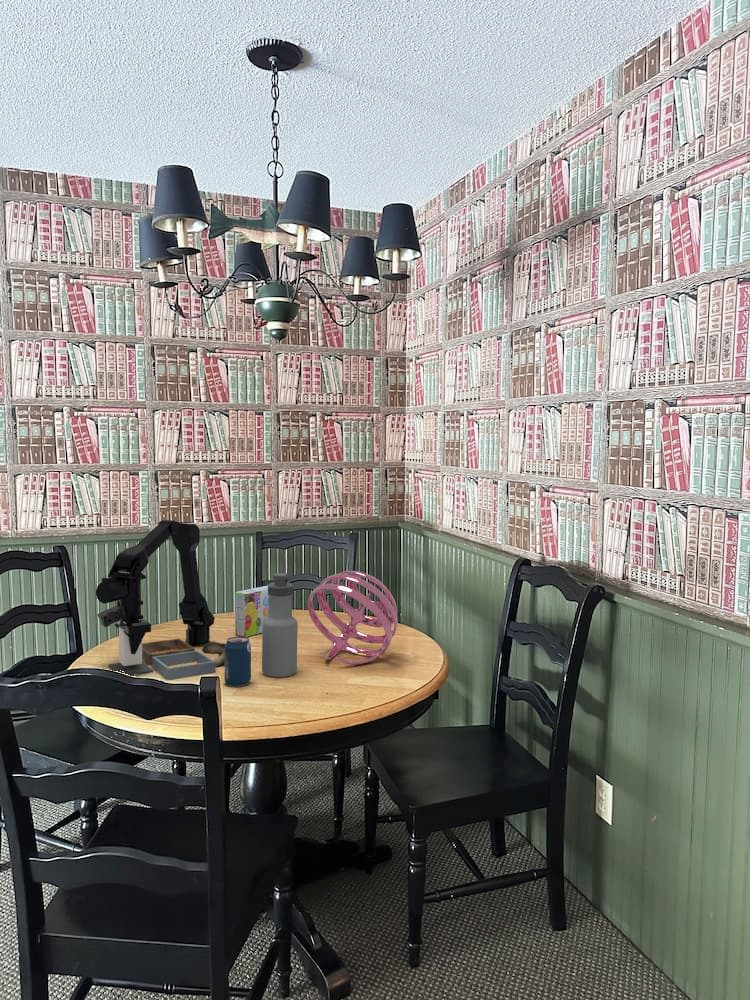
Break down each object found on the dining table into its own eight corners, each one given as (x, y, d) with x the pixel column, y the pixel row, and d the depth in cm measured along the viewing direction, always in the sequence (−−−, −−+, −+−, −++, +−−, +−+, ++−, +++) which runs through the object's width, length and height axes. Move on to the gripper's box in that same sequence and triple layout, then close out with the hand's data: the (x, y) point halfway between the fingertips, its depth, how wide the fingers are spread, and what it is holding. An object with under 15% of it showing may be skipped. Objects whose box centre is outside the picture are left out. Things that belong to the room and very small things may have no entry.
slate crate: (197, 660, 216) (197, 650, 216) (215, 672, 205) (215, 661, 204) (151, 667, 208) (151, 656, 208) (167, 680, 197) (167, 669, 197)
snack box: (277, 624, 263) (278, 582, 262) (289, 626, 260) (289, 584, 259) (234, 635, 246) (234, 591, 245) (245, 638, 243) (246, 593, 242)
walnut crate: (179, 647, 229) (179, 638, 229) (194, 658, 218) (194, 648, 218) (135, 653, 221) (135, 644, 221) (149, 665, 210) (149, 654, 210)
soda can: (255, 681, 197) (256, 637, 196) (241, 689, 191) (241, 643, 190) (234, 678, 200) (234, 634, 199) (219, 685, 193) (219, 640, 193)
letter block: (136, 659, 209) (136, 623, 208) (142, 663, 205) (142, 627, 204) (118, 661, 206) (118, 626, 206) (123, 666, 202) (123, 629, 202)
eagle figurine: (219, 653, 220) (196, 654, 213) (231, 635, 218) (208, 635, 211) (232, 671, 216) (209, 672, 208) (244, 653, 214) (221, 654, 207)
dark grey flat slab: (140, 661, 213) (140, 660, 213) (153, 672, 203) (153, 670, 203) (108, 666, 208) (108, 664, 208) (120, 677, 198) (120, 675, 198)
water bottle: (263, 667, 210) (264, 570, 209) (297, 667, 211) (299, 571, 209) (260, 678, 200) (261, 576, 198) (296, 678, 201) (297, 577, 199)
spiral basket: (335, 611, 196) (381, 546, 214) (270, 619, 215) (317, 559, 233) (388, 684, 205) (428, 616, 223) (321, 685, 224) (363, 623, 242)
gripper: (92, 594, 208) (92, 648, 209) (109, 606, 192) (109, 664, 193) (131, 590, 214) (131, 642, 215) (151, 601, 199) (151, 658, 200)
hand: (130, 651), depth 206 cm, fingers closed on letter block, 5 cm apart
